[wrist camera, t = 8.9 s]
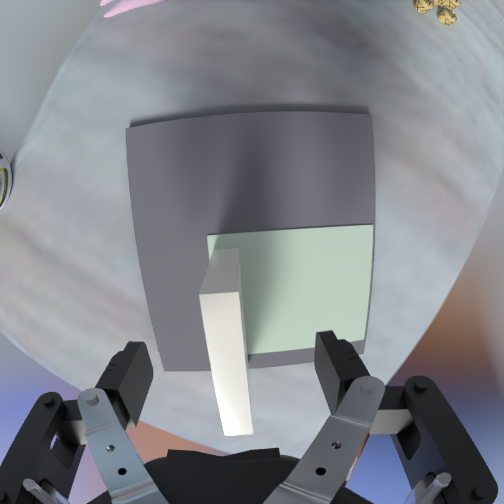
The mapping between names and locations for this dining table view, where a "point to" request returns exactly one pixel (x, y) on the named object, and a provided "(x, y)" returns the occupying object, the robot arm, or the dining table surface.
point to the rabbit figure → (127, 5)
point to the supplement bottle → (4, 179)
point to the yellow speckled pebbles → (445, 16)
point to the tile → (227, 340)
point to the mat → (256, 227)
